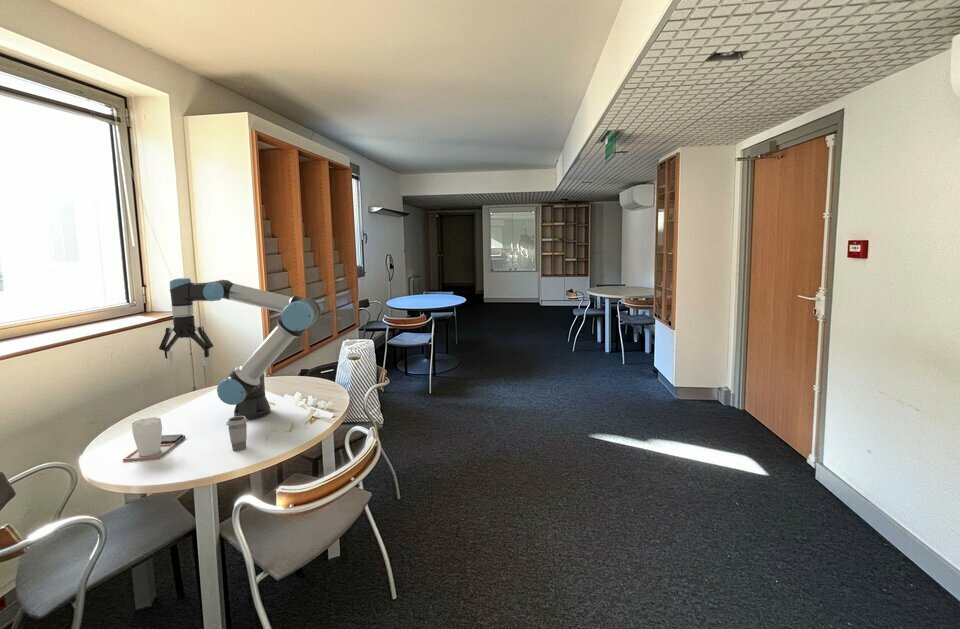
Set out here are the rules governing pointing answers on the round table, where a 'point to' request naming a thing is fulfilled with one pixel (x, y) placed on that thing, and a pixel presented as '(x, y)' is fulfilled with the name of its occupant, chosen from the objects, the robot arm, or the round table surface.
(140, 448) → the cup
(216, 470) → the round table surface
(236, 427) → the cup
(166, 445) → the print frame
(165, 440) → the ink pad
